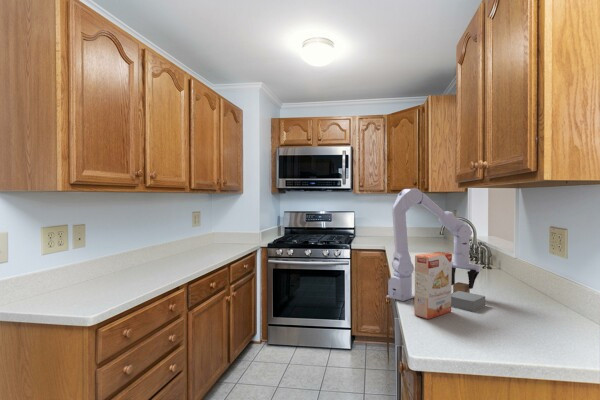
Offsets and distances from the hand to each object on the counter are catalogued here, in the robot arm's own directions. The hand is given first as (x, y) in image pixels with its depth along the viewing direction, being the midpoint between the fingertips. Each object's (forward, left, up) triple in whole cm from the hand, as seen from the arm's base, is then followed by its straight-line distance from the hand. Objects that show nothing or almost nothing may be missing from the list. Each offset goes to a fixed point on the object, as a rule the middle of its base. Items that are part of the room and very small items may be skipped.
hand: (461, 286), depth 146 cm
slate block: (-11, -7, -4) cm, 14 cm away
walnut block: (0, 0, -4) cm, 4 cm away
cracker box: (-29, -4, -4) cm, 29 cm away
